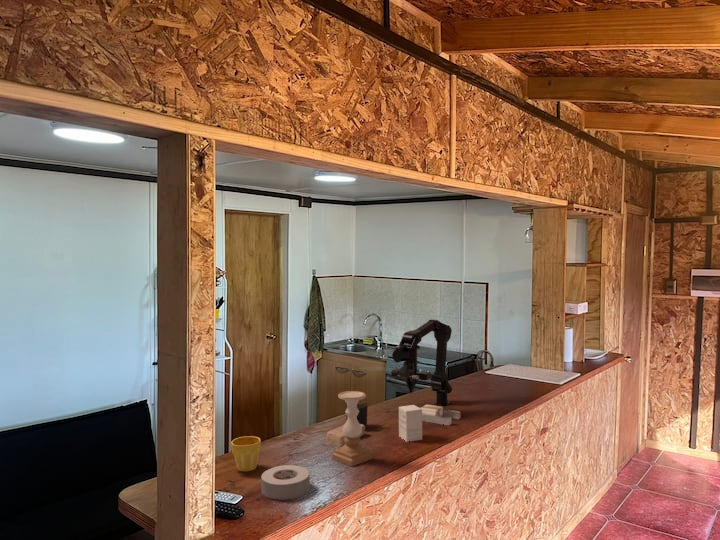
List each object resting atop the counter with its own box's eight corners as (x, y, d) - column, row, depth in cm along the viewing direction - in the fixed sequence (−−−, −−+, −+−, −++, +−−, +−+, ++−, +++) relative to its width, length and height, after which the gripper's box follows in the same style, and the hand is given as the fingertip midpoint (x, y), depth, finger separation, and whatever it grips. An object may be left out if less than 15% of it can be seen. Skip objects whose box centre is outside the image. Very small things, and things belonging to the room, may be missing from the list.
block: (426, 414, 257) (426, 404, 257) (442, 417, 253) (442, 406, 253) (419, 419, 250) (419, 408, 250) (435, 422, 246) (435, 411, 246)
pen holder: (353, 432, 231) (353, 409, 231) (341, 427, 239) (341, 404, 239) (371, 428, 236) (371, 405, 236) (359, 423, 244) (359, 400, 244)
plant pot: (225, 468, 194) (225, 440, 193) (250, 460, 201) (250, 433, 201) (241, 476, 186) (241, 447, 186) (267, 468, 194) (266, 440, 193)
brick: (341, 447, 215) (341, 435, 215) (325, 443, 220) (325, 431, 220) (365, 435, 229) (365, 424, 228) (349, 432, 233) (349, 421, 233)
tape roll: (275, 504, 166) (275, 488, 165) (253, 487, 178) (253, 472, 178) (318, 491, 175) (318, 475, 174) (295, 476, 187) (294, 461, 187)
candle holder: (373, 458, 202) (373, 394, 201) (351, 466, 194) (351, 399, 194) (352, 451, 210) (352, 389, 209) (331, 458, 202) (330, 394, 201)
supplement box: (414, 434, 229) (414, 404, 228) (422, 440, 222) (422, 409, 221) (398, 436, 226) (398, 406, 226) (406, 442, 219) (406, 411, 219)
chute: (424, 412, 260) (424, 406, 260) (460, 418, 251) (460, 411, 251) (412, 419, 250) (412, 412, 250) (449, 425, 240) (449, 418, 240)
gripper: (385, 360, 255) (385, 393, 255) (421, 364, 245) (421, 399, 245) (396, 356, 264) (396, 388, 265) (432, 360, 254) (432, 393, 255)
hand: (411, 392), depth 257 cm, fingers closed
